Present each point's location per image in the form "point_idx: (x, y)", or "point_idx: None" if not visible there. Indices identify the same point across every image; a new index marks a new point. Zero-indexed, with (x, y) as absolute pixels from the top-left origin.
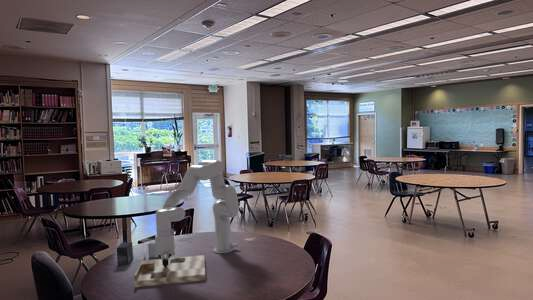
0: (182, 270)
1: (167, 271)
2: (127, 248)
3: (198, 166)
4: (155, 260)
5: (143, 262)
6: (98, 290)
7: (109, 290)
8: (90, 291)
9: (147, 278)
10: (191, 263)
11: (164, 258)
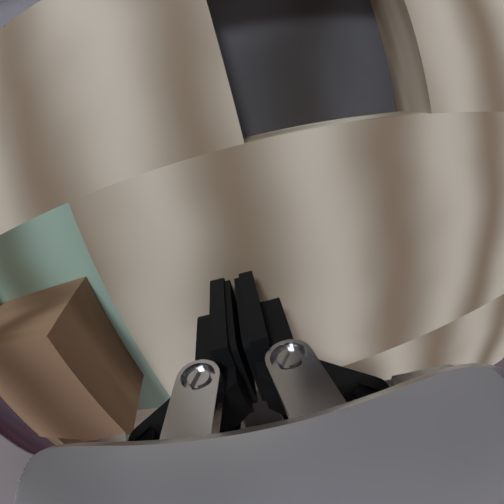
0: (419, 344)
1: None
2: None
3: None
4: (3, 55)
5: (15, 402)
6: (19, 434)
7: (54, 445)
8: (4, 433)
9: None
10: (488, 173)
11: (246, 406)
